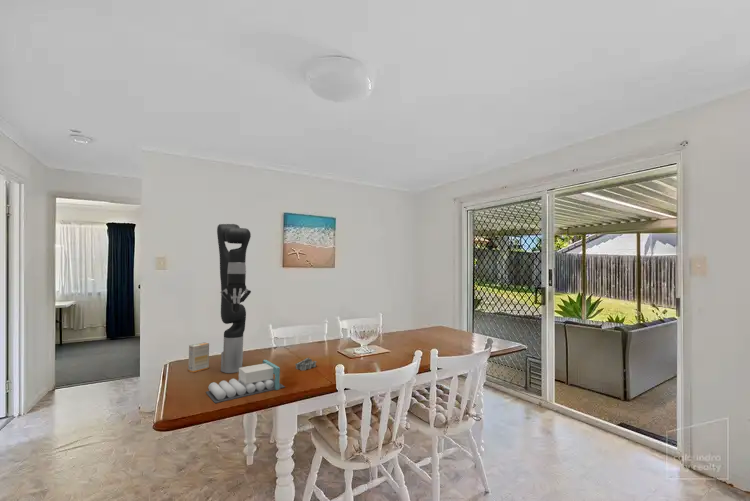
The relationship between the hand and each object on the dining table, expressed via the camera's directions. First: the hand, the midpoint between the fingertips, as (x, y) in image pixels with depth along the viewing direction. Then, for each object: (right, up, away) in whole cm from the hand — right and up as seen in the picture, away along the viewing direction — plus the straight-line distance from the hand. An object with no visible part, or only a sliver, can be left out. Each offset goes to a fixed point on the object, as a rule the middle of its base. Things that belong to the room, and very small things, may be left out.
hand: (235, 312), depth 152 cm
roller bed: (+6, -33, -3) cm, 34 cm away
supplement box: (-28, -34, +23) cm, 49 cm away
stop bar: (+14, -33, +3) cm, 37 cm away
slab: (+9, -29, -1) cm, 30 cm away
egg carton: (+25, -35, +30) cm, 53 cm away
